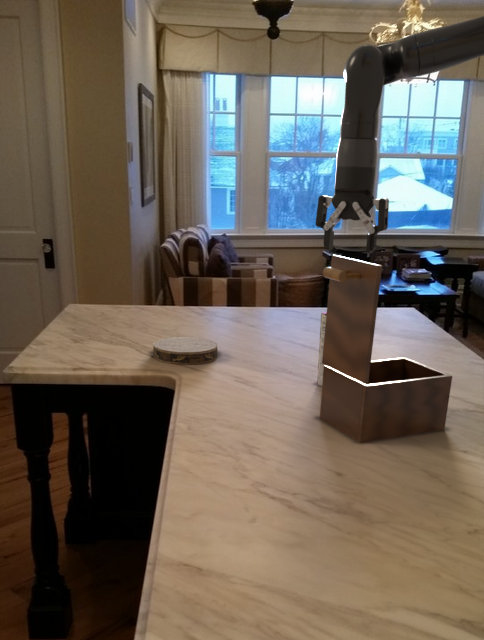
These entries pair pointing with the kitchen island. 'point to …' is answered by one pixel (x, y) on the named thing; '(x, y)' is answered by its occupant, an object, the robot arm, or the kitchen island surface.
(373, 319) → the lid
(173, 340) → the grey round disc
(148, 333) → the kitchen island surface
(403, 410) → the chest
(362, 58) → the robot arm
